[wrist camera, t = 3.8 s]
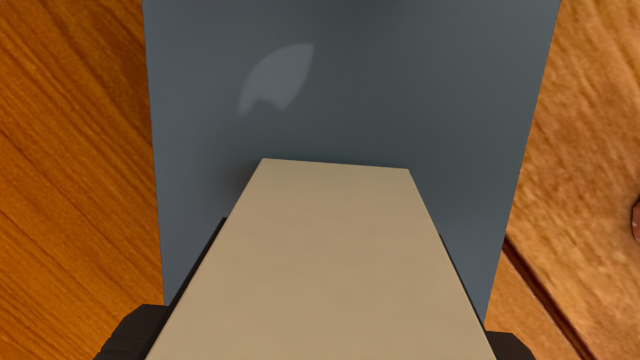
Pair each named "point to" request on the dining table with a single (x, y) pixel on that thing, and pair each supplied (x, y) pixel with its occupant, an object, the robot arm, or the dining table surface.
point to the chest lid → (344, 108)
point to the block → (325, 275)
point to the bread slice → (636, 222)
